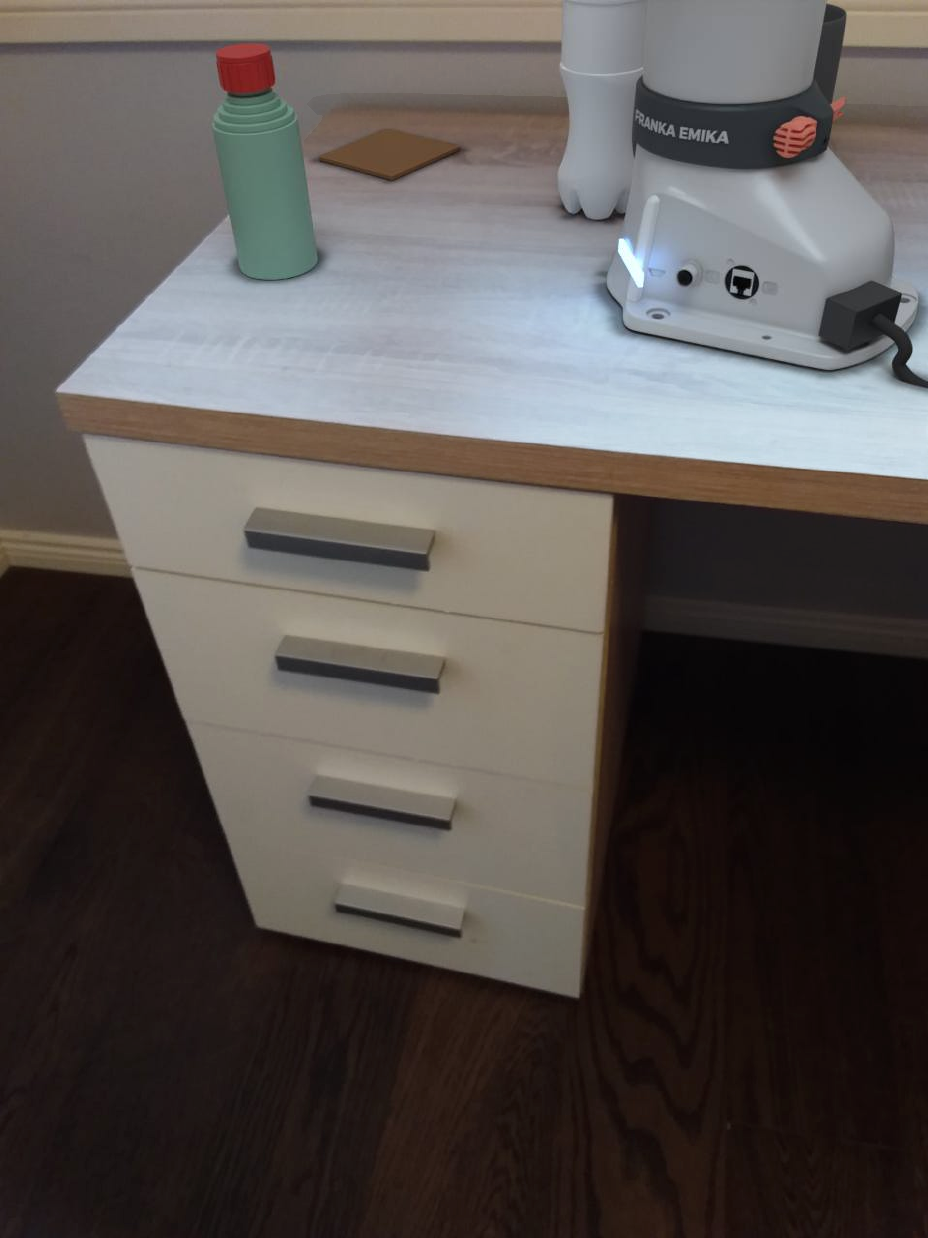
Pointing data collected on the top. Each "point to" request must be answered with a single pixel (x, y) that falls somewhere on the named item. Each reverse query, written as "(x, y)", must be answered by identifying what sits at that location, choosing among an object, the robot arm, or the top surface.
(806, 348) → the robot arm
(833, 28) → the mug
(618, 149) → the water bottle
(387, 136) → the mat
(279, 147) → the bottle
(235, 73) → the cap
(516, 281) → the top surface
